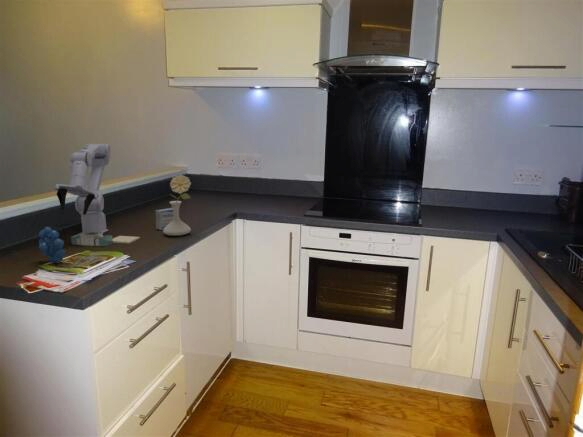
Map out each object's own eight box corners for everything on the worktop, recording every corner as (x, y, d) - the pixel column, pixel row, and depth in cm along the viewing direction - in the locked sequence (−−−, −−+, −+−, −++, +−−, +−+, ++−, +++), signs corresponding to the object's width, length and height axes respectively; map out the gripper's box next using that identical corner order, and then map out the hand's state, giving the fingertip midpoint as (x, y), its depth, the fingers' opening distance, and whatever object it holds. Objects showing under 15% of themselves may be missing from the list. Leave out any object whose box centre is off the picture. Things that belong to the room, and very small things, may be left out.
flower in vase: (157, 236, 174) (153, 175, 169) (172, 230, 185) (169, 172, 180) (186, 239, 171) (183, 176, 166) (199, 232, 182) (197, 173, 176)
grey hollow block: (90, 241, 167) (89, 231, 166) (103, 242, 166) (102, 232, 165) (81, 245, 161) (80, 235, 161) (94, 246, 160) (93, 235, 159)
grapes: (30, 263, 140) (25, 227, 137) (49, 258, 146) (45, 223, 143) (52, 269, 135) (47, 232, 132) (71, 263, 140) (68, 227, 138)
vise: (80, 241, 167) (79, 233, 167) (113, 243, 165) (112, 235, 164) (71, 244, 162) (70, 236, 162) (105, 246, 160) (104, 238, 159)
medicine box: (161, 231, 184) (160, 211, 182) (156, 229, 187) (154, 209, 185) (177, 227, 190) (176, 208, 188) (172, 226, 193) (171, 207, 191)
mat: (119, 237, 173) (119, 235, 173) (140, 238, 172) (139, 236, 171) (107, 242, 166) (107, 240, 165) (128, 243, 164) (128, 242, 164)
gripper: (60, 169, 156) (55, 201, 150) (101, 180, 165) (98, 211, 159) (55, 178, 160) (49, 210, 154) (95, 188, 169) (91, 218, 163)
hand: (73, 211), depth 157 cm, fingers open, 7 cm apart
